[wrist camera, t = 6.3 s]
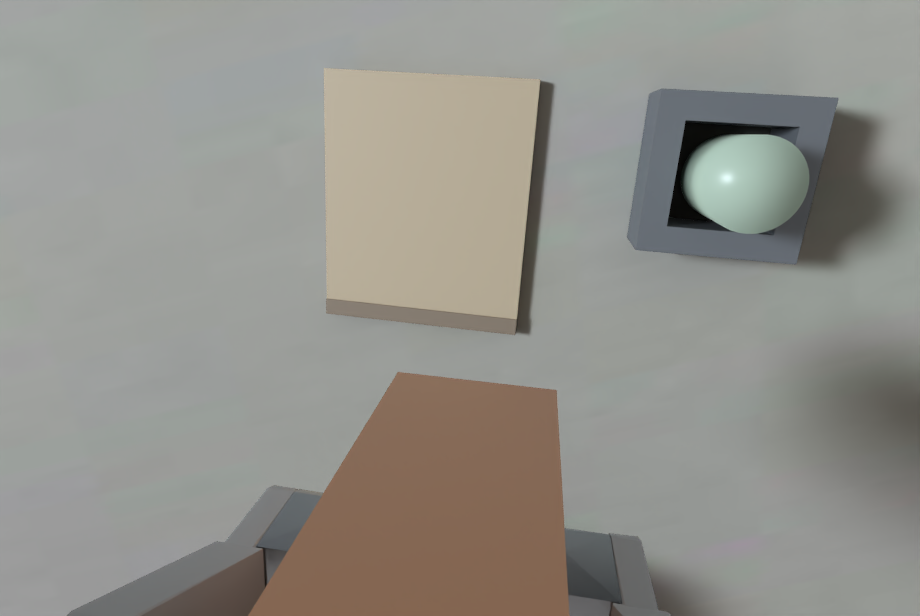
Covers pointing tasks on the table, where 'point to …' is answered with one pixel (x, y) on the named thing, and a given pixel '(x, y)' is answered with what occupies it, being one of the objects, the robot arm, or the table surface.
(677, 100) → the button housing
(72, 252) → the table surface
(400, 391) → the orange grey-capped box
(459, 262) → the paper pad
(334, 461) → the table surface
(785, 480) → the table surface
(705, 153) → the button plunger
